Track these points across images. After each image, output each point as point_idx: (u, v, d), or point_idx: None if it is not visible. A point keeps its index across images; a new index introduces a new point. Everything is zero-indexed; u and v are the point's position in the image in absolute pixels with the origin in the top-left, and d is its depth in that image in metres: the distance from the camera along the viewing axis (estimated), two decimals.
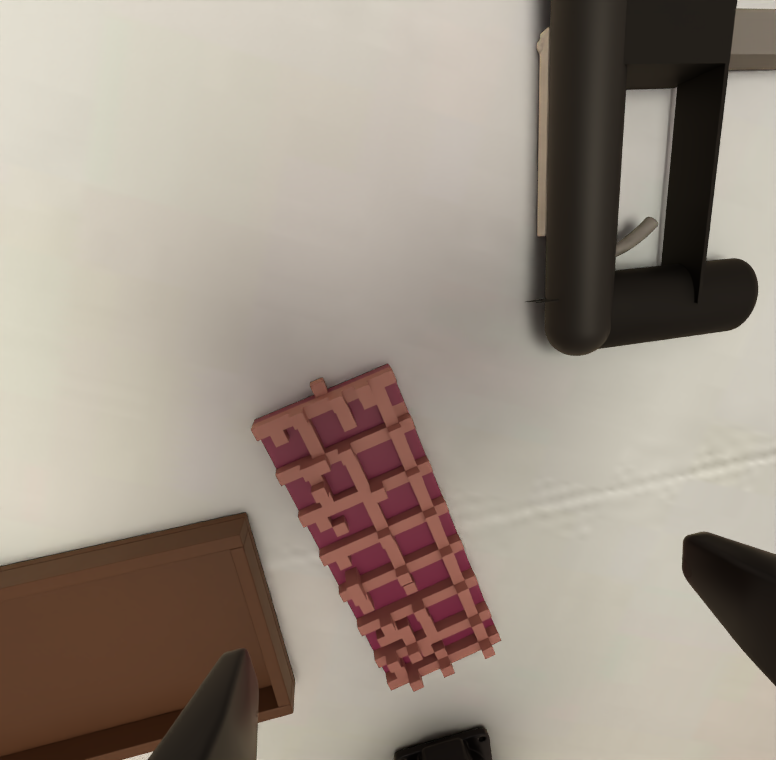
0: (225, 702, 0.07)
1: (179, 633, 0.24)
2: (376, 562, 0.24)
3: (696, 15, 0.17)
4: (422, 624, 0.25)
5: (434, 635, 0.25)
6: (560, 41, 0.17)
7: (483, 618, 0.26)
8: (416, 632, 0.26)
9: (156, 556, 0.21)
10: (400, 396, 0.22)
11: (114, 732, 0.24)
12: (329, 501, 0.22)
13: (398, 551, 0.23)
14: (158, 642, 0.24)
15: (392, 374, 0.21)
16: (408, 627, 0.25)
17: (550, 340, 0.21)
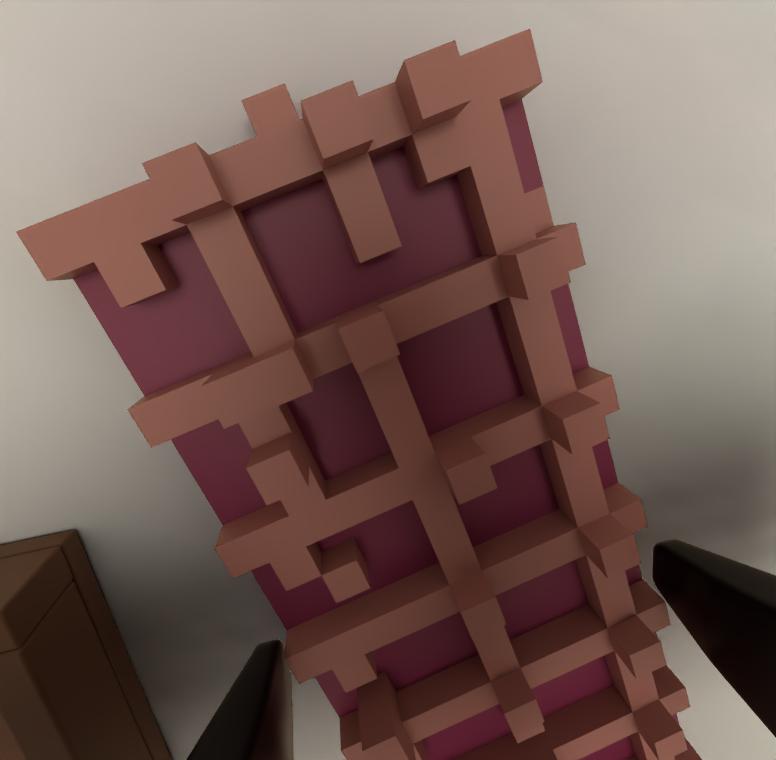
0: (266, 691, 0.07)
1: None
2: (438, 658, 0.09)
3: None
4: None
5: None
6: None
7: None
8: None
9: None
10: (534, 167, 0.07)
11: None
12: (311, 498, 0.07)
13: (504, 636, 0.09)
14: None
15: (529, 49, 0.06)
16: None
17: None
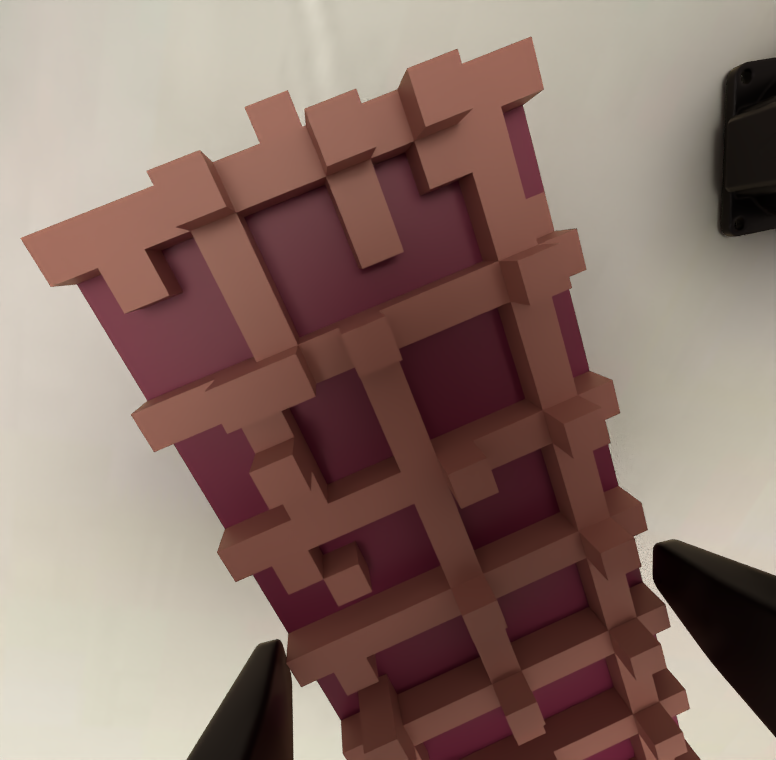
0: (265, 691, 0.07)
1: None
2: (439, 661, 0.09)
3: None
4: None
5: None
6: None
7: None
8: None
9: None
10: (535, 173, 0.07)
11: None
12: (313, 502, 0.07)
13: (505, 639, 0.09)
14: None
15: (531, 56, 0.06)
16: None
17: None
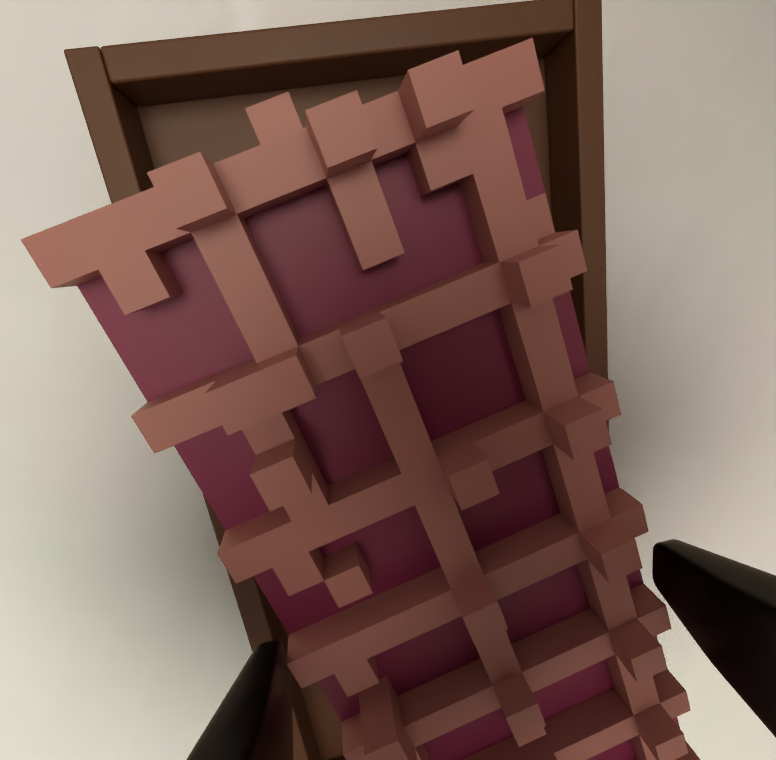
0: (266, 691, 0.07)
1: None
2: (440, 662, 0.09)
3: None
4: None
5: None
6: None
7: None
8: None
9: None
10: (536, 174, 0.07)
11: None
12: (314, 504, 0.07)
13: (505, 640, 0.09)
14: None
15: (531, 58, 0.06)
16: None
17: None
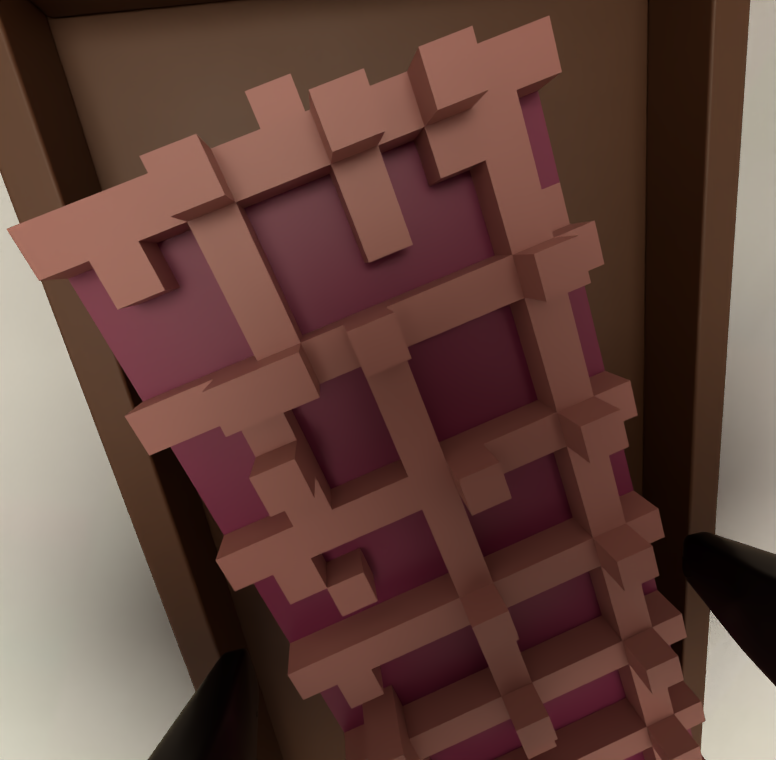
0: (225, 702, 0.07)
1: None
2: (446, 672, 0.09)
3: None
4: None
5: None
6: None
7: None
8: None
9: None
10: (550, 162, 0.07)
11: (653, 423, 0.10)
12: (317, 508, 0.07)
13: (515, 650, 0.08)
14: None
15: (548, 37, 0.06)
16: None
17: None
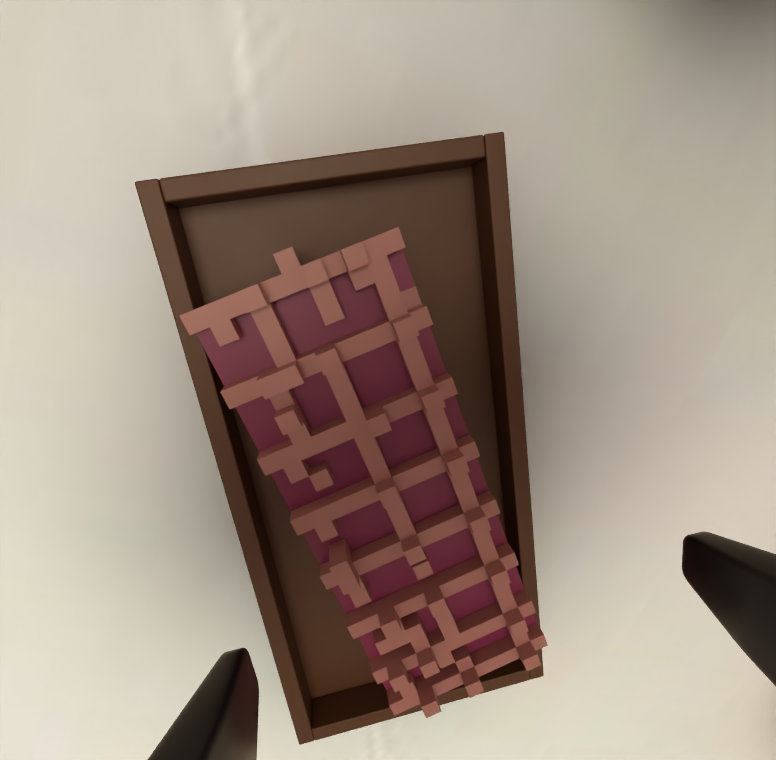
0: (225, 702, 0.07)
1: None
2: (374, 532, 0.17)
3: None
4: (439, 622, 0.18)
5: (455, 638, 0.18)
6: None
7: (524, 614, 0.18)
8: (429, 633, 0.18)
9: (177, 309, 0.14)
10: (410, 277, 0.15)
11: (496, 402, 0.18)
12: (303, 436, 0.15)
13: (406, 515, 0.16)
14: None
15: (398, 234, 0.14)
16: (419, 626, 0.18)
17: None
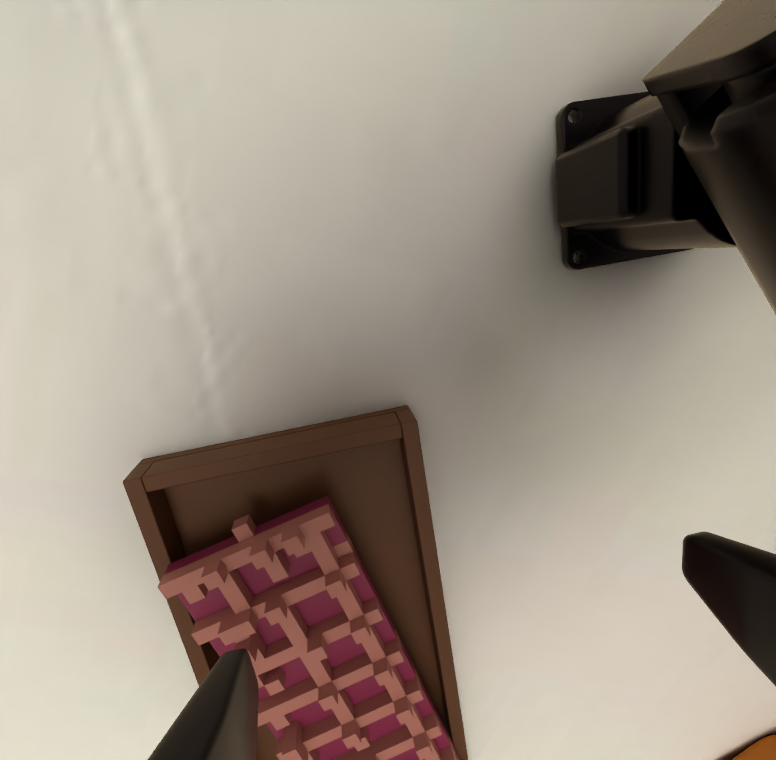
0: (225, 702, 0.07)
1: None
2: (321, 713, 0.21)
3: None
4: None
5: None
6: None
7: None
8: None
9: (157, 563, 0.18)
10: (342, 535, 0.18)
11: (425, 595, 0.22)
12: (259, 658, 0.19)
13: (345, 706, 0.20)
14: None
15: (329, 517, 0.17)
16: None
17: None
